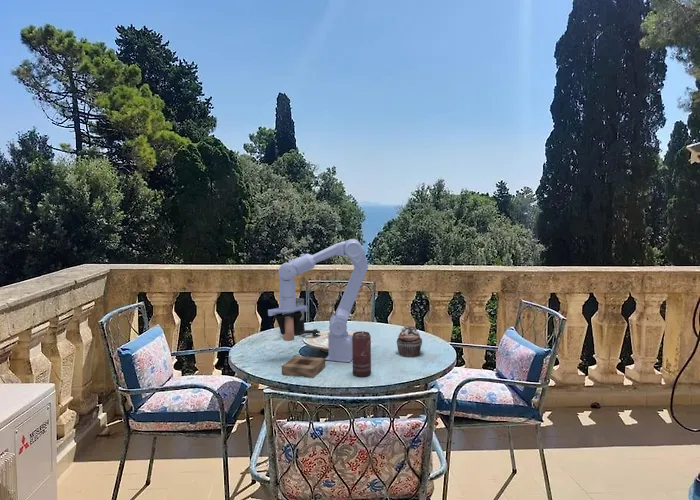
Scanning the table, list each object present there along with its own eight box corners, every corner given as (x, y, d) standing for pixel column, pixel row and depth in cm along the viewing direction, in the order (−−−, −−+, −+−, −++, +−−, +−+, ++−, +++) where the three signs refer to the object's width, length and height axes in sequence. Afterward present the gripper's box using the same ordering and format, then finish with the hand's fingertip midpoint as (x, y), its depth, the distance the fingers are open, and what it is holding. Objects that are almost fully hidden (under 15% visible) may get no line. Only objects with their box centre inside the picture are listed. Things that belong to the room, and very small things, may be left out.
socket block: (325, 366, 182) (325, 358, 182) (313, 377, 171) (313, 369, 171) (295, 363, 186) (295, 355, 185) (281, 374, 175) (281, 365, 174)
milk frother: (284, 330, 232) (283, 297, 230) (320, 329, 232) (319, 296, 231) (282, 339, 218) (281, 304, 216) (320, 338, 218) (319, 303, 217)
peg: (295, 338, 191) (295, 316, 191) (291, 341, 188) (290, 319, 187) (286, 337, 193) (285, 316, 192) (281, 340, 189) (280, 318, 188)
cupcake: (392, 351, 199) (392, 325, 198) (416, 349, 202) (416, 323, 200) (401, 358, 190) (401, 331, 189) (426, 356, 192) (426, 329, 191)
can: (370, 370, 178) (369, 330, 176) (371, 377, 171) (371, 335, 170) (352, 371, 177) (351, 330, 176) (353, 377, 171) (352, 336, 170)
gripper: (302, 292, 195) (302, 327, 197) (264, 296, 189) (265, 333, 190) (309, 295, 189) (310, 332, 191) (271, 299, 182) (272, 337, 184)
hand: (288, 332), depth 190 cm, fingers closed on peg, 4 cm apart
